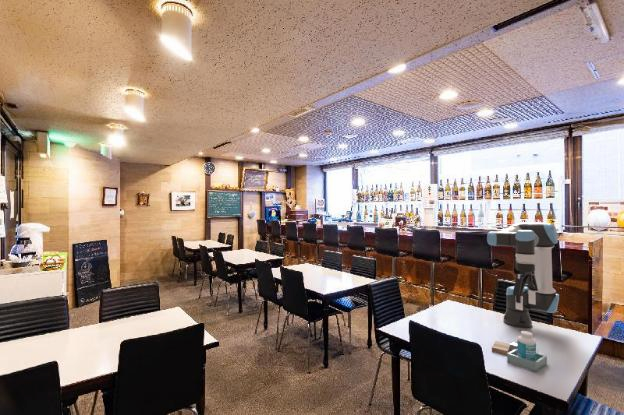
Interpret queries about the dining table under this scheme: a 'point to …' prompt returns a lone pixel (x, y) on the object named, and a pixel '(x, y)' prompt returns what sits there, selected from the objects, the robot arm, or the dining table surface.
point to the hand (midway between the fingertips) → (525, 306)
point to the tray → (527, 361)
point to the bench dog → (513, 346)
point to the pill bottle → (526, 346)
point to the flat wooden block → (501, 347)
